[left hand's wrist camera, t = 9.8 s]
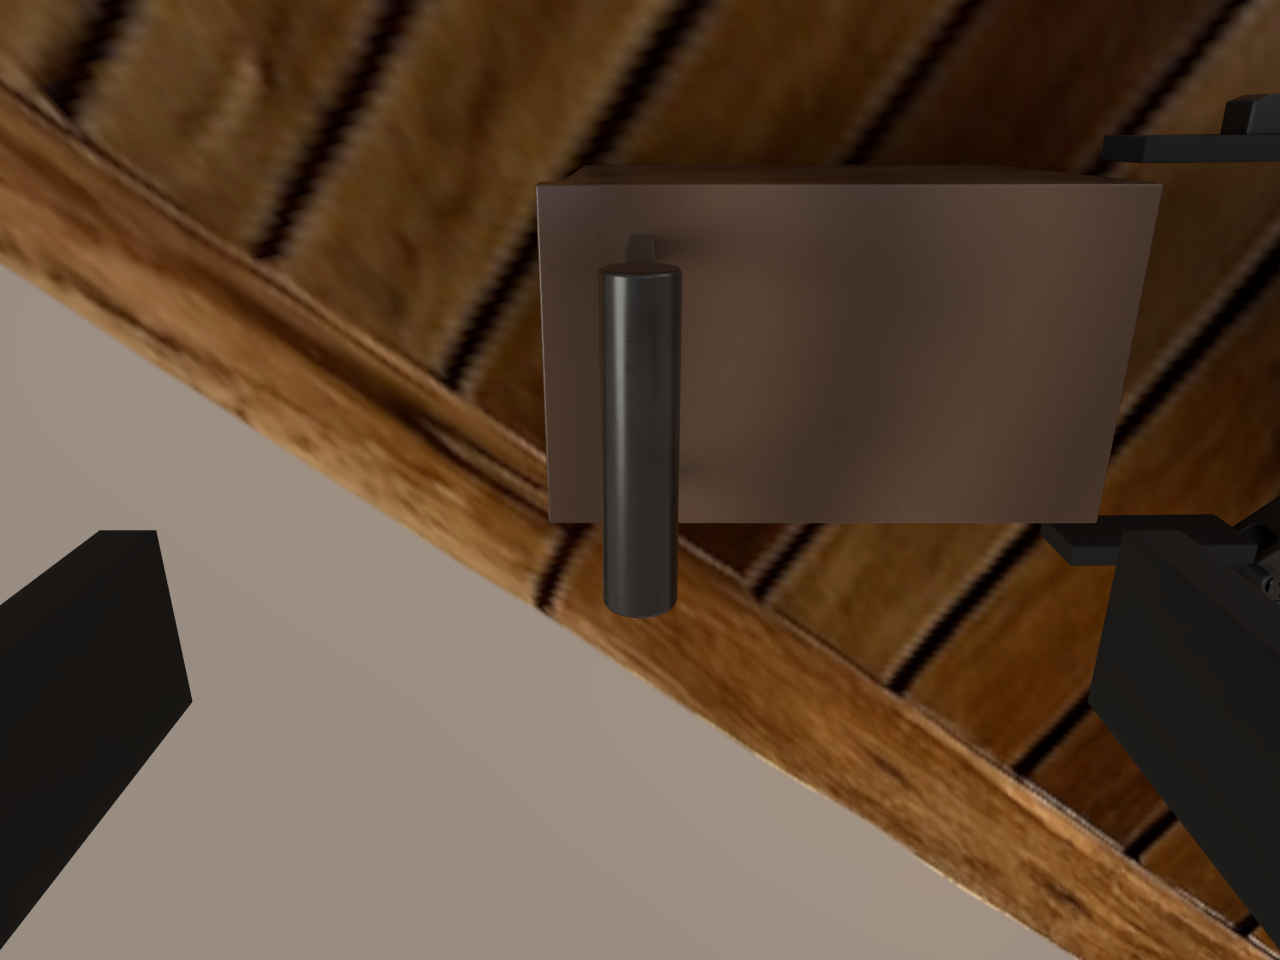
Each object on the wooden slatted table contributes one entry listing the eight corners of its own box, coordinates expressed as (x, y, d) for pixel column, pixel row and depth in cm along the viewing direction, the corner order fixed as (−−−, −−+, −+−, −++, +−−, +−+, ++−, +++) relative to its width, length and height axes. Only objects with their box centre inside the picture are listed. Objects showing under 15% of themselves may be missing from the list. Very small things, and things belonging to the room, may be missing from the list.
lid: (552, 509, 29) (516, 665, 20) (539, 181, 25) (489, 209, 17) (1081, 510, 29) (1259, 666, 20) (1144, 181, 25) (1391, 209, 17)
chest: (590, 408, 39) (571, 509, 29) (585, 164, 35) (562, 181, 25) (965, 408, 39) (1081, 509, 29) (999, 164, 35) (1143, 181, 25)
